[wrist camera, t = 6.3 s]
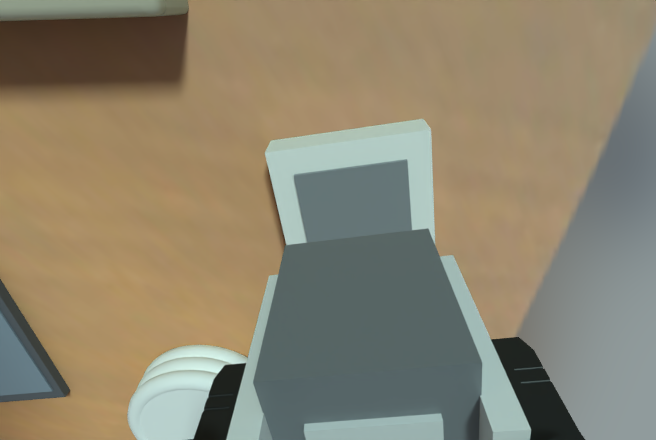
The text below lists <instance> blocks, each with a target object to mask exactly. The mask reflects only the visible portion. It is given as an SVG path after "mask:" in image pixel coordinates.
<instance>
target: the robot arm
mask: <svg viewBox="0 0 656 440" xmlns="http://www.w3.org/2000/svg"><path fill="white" fill-rule="evenodd" d="M440 259H441V261H442V264H443V266H444V269H445V271H446V274H447V276H448V279H449V281H450V284H451V286H452V288H453V291H454V293H455V296H456V298H457V301H458V303H459V306H460V308H461V311H462V313H463V316H464V318H465V321H466V323H467V326H468V328H469V331H470V333H471V336H472V338H473V341H474V343H475V346H476V348H477V350H478V353H479V355H480V358H481V360H482V395H480V417H479V440H585V439H584V438H583V436H582V435H581V433H580V432H579V430H578V428H577V426H576V425H575V423H574V421H573V420H572V417H571V416H570V414H569V413H568V410H567V409H566V407H565V405H564V403H563V401H562V400H561V398H560V396H559V394H558V392H557V391H556V389H555V387H554V385H553V384H552V382H550V378H549V376H548V375H547V373H546V371H545V369H543V366H542V364H541V362H540V360H539V359H538V357H537V355H536V353H535V351H534V350H533V349H532V348H531V347H530V346H528V345H527V344H526V343H525V342H524V341H523V340H521V339H520V338H519V337H514V338H503V339H492V340H491V339H490V337H489V334H488V332H487V330H486V328H485V325H484V323H483V321H482V319H481V317H480V314H479V312H478V310H477V308H476V305H475V303H474V301H473V299H472V297H471V294H470V292H469V290H468V288H467V285H466V283H465V281H464V279H463V276H462V274H461V272H460V270H459V268H458V265H457V263H456V261H455V259H454V256H453V255H450V256H441V257H440ZM277 278H278V275H271V276H269V279H268V283H267V286H266V290H265V294H264V298H263V302H262V305H261V309H260V313H259V317H258V321H257V324H256V328H255V332H254V336H253V340H252V343H251V347H250V351H249V355H248V359H247V363H241V364H230V365H224V367H223V368H222V369H221V371H220V372H219V373H218V374H217V376H216V377H215V378H214V380H213V383H212V386H211V389H210V392H209V395H208V398H207V400H206V403H205V406H204V411H203V412H202V415H201V418H200V421H199V424H198V427H197V430H196V433H195V436H194V439H188V440H272V437H271V434H270V431H269V428H268V425H267V422H266V419H265V416H264V413H263V412H262V409H261V406H260V403H259V400H258V397H257V393H256V390H255V387H254V384H253V380H254V376H255V371H256V367H257V363H258V359H259V354H260V350H261V346H262V342H263V338H264V333H265V329H266V325H267V321H268V316H269V312H270V308H271V304H272V299H273V295H274V291H275V287H276V282H277Z"/></svg>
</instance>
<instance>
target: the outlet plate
mask: <svg viewBox="0 0 656 440" xmlns="http://www.w3.org/2000/svg"><path fill="white" fill-rule="evenodd" d="M265 156H266V160H267V164H268V168H269V173H270V177H271V181H272V186H273V190H274V194H275V198H276V203H277V207H278V211H279V215H280V220H281V224H282V228H283V233H284V237H285V241H286V245H291V244H300V243H308V242H317V241H325V240H334V239H342V238H351V237H359V236H368V235H376V234H385V233H393V232H402V231H410V230H419V229H427V228H428V229H429V231H430V234H431V236H432V239H433V241H434V244H435V230H434V202H433V174H432V145H431V129H430V128H429V126H428V125H427V123H426V122H425V121H424V119H418V120H411V121H404V122H397V123H390V124H383V125H376V126H369V127H362V128H355V129H349V130H342V131H335V132H328V133H321V134H314V135H307V136H300V137H293V138H286V139H279V140H272V141H270V143H269V146H268V148H267V150H266V152H265Z"/></svg>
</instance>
